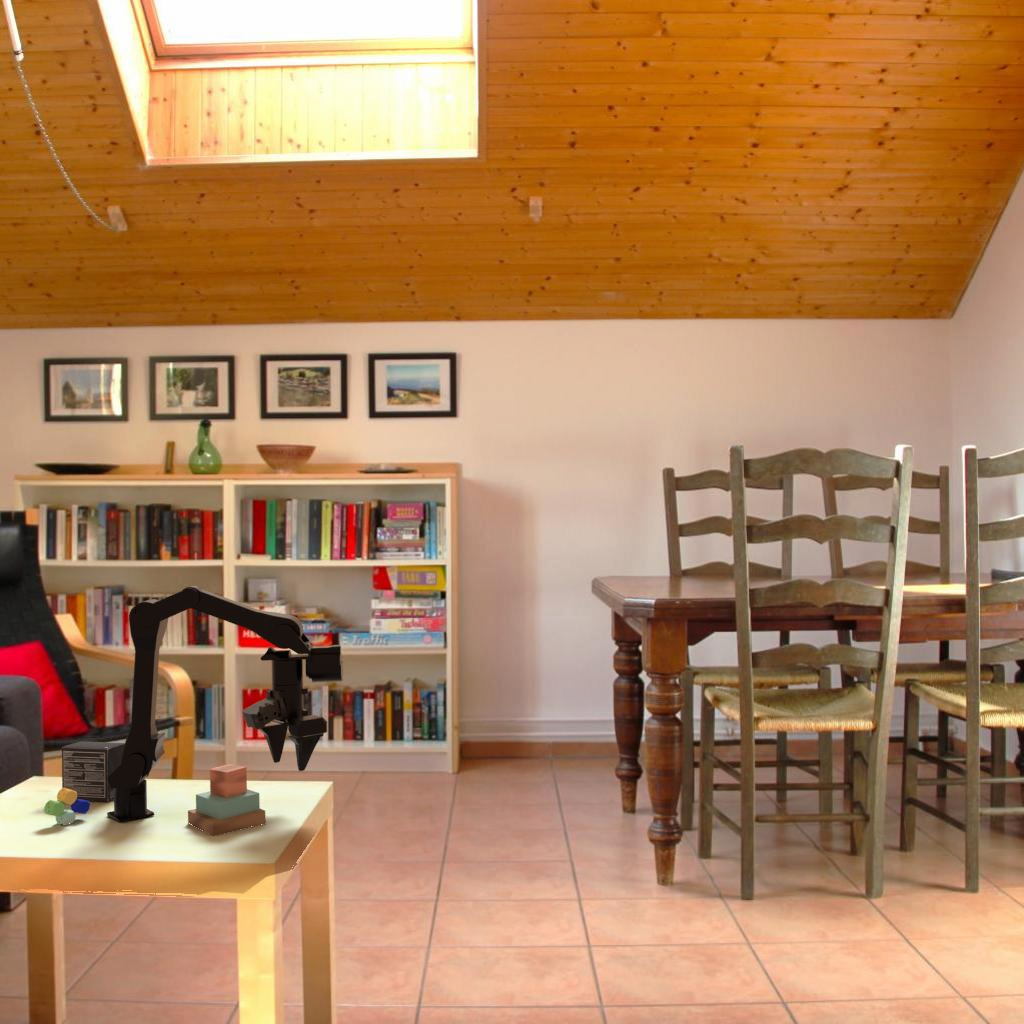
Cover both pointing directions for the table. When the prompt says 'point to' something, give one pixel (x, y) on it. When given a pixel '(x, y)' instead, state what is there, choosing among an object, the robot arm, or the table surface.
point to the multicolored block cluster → (58, 807)
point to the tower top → (227, 804)
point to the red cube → (228, 780)
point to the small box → (90, 769)
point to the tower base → (225, 821)
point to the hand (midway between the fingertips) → (289, 766)
